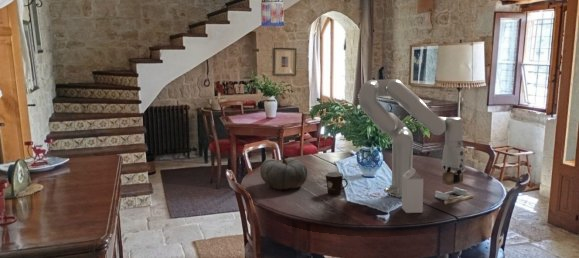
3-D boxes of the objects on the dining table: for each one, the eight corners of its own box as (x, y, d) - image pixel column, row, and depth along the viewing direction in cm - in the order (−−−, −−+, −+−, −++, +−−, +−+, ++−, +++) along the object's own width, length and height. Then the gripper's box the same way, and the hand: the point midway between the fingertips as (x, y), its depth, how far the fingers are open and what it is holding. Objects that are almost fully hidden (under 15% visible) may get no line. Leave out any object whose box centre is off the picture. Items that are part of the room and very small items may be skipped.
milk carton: (417, 207, 195) (418, 166, 192) (422, 213, 188) (423, 170, 185) (401, 207, 195) (402, 166, 192) (406, 213, 188) (407, 170, 185)
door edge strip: (445, 204, 199) (445, 201, 199) (444, 203, 200) (444, 201, 200) (473, 197, 207) (473, 195, 207) (471, 197, 208) (471, 195, 208)
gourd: (248, 181, 231) (254, 150, 229) (282, 180, 249) (287, 150, 247) (280, 196, 214) (287, 162, 212) (314, 193, 232) (320, 161, 230)
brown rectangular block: (462, 182, 208) (463, 172, 207) (448, 185, 204) (449, 174, 203) (456, 180, 212) (456, 170, 211) (442, 183, 208) (442, 172, 207)
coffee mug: (322, 192, 220) (322, 173, 218) (338, 190, 223) (338, 171, 221) (333, 199, 209) (333, 178, 208) (349, 196, 212) (349, 176, 211)
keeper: (447, 201, 203) (448, 195, 202) (434, 196, 210) (434, 190, 209) (467, 197, 208) (467, 191, 208) (454, 192, 216) (454, 186, 215)
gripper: (474, 145, 199) (472, 184, 202) (445, 140, 214) (444, 176, 217) (462, 147, 196) (461, 186, 199) (434, 141, 211) (433, 178, 213)
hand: (452, 180), depth 208 cm, fingers closed on brown rectangular block, 4 cm apart
